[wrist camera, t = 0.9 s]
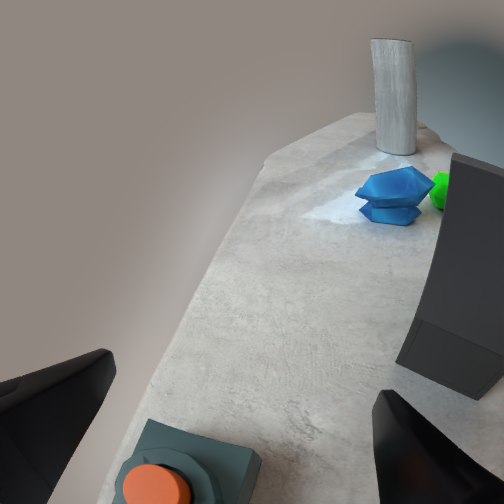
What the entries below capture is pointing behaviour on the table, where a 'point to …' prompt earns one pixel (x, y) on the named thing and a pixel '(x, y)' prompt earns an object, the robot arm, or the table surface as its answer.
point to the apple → (439, 189)
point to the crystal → (394, 195)
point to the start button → (155, 486)
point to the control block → (195, 464)
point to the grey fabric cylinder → (395, 95)
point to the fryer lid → (469, 257)
